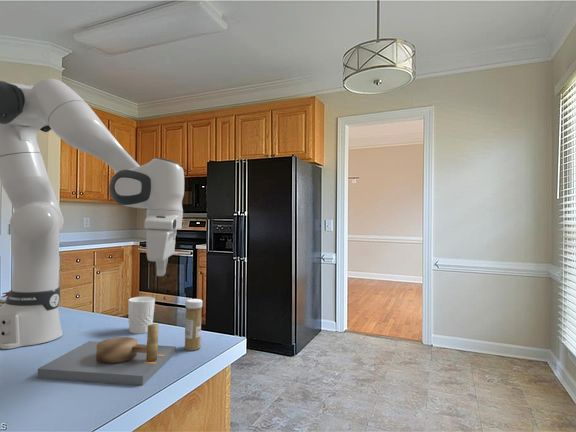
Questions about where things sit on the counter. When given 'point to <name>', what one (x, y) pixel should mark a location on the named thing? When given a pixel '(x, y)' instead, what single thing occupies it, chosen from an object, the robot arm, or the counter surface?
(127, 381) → the stand
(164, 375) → the counter surface
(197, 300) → the sprinkles bottle
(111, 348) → the dial
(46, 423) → the counter surface
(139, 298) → the white cup
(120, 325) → the counter surface
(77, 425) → the counter surface
